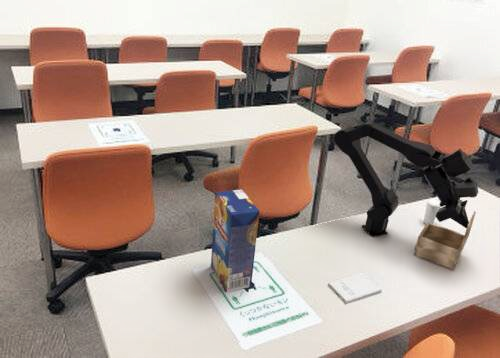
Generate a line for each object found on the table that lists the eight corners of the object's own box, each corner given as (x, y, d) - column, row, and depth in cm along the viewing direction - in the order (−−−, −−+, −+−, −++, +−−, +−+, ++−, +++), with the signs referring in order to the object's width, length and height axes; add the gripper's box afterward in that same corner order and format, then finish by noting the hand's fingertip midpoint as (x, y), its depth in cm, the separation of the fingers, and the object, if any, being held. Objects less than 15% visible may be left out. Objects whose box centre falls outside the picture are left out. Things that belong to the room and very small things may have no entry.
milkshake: (438, 228, 162) (445, 203, 157) (422, 225, 163) (429, 200, 158) (436, 221, 166) (443, 197, 161) (420, 218, 167) (427, 194, 162)
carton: (412, 255, 145) (418, 236, 142) (422, 239, 154) (427, 221, 151) (452, 271, 140) (459, 252, 136) (460, 253, 148) (467, 235, 145)
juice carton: (251, 287, 125) (259, 211, 114) (225, 292, 122) (231, 215, 111) (234, 261, 135) (241, 188, 124) (210, 265, 132) (215, 192, 121)
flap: (467, 225, 133) (469, 226, 133) (474, 211, 141) (476, 211, 141) (459, 251, 137) (461, 252, 137) (466, 236, 145) (468, 236, 145)
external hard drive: (380, 293, 128) (345, 305, 122) (361, 276, 134) (327, 286, 129) (382, 289, 127) (346, 300, 122) (362, 271, 134) (328, 281, 128)
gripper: (459, 182, 126) (489, 231, 126) (472, 162, 141) (499, 205, 140) (423, 198, 134) (451, 244, 133) (438, 177, 148) (464, 218, 148)
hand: (468, 227), depth 138 cm, fingers closed, pressing on flap
